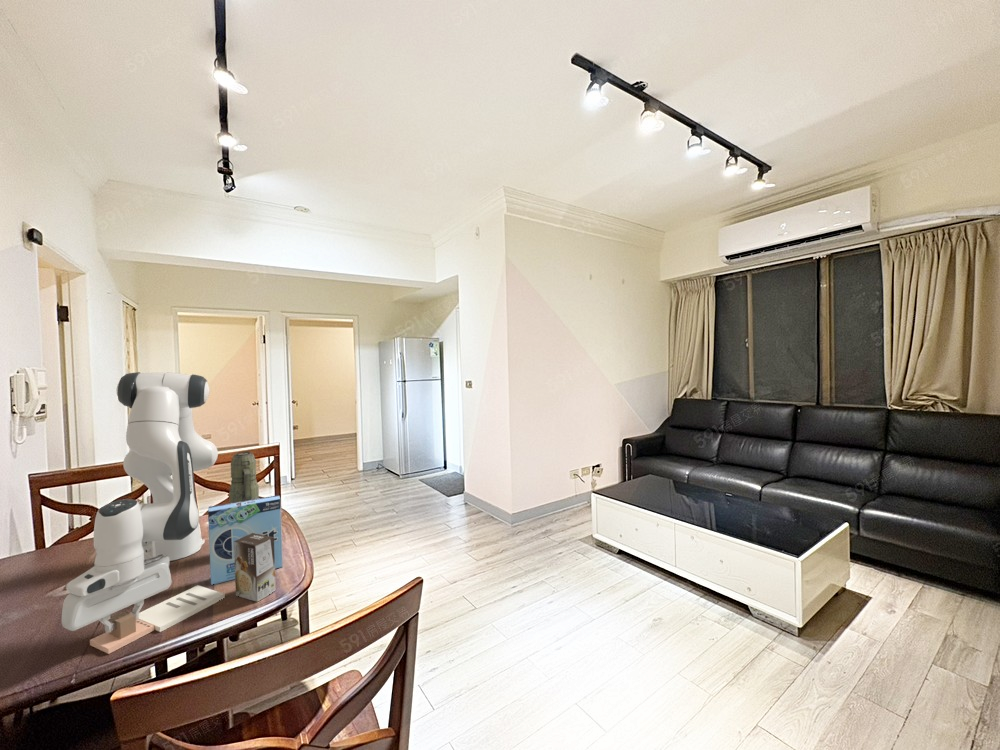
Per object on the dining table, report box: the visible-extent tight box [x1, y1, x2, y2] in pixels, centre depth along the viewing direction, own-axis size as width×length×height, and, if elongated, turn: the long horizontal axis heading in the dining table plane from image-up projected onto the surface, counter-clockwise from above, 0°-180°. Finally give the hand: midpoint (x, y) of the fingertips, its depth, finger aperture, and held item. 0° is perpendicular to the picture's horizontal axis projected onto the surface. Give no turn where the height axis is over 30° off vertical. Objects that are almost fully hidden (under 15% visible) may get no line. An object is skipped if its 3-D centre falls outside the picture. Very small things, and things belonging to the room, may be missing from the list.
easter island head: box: [228, 451, 260, 503], centre depth 145 cm, size 9×12×35 cm
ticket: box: [139, 584, 226, 633], centre depth 112 cm, size 12×16×1 cm
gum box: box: [207, 494, 284, 586], centre depth 131 cm, size 19×5×23 cm, turn 123°
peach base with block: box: [89, 610, 155, 655], centre depth 100 cm, size 8×9×5 cm
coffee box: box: [234, 533, 277, 602], centre depth 119 cm, size 9×6×16 cm
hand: (122, 625), depth 100 cm, fingers closed on peach base with block, 3 cm apart
